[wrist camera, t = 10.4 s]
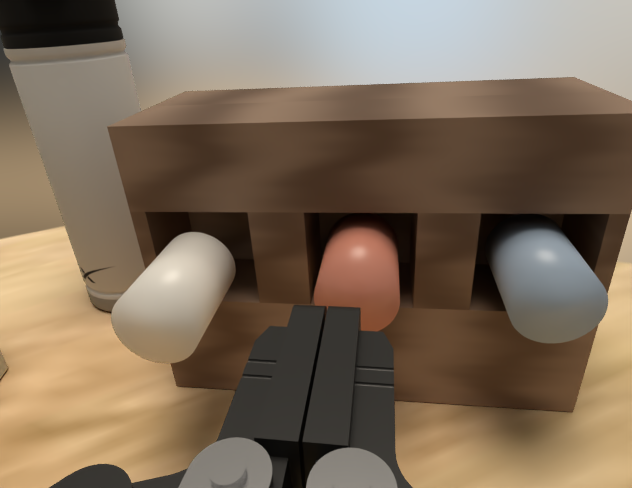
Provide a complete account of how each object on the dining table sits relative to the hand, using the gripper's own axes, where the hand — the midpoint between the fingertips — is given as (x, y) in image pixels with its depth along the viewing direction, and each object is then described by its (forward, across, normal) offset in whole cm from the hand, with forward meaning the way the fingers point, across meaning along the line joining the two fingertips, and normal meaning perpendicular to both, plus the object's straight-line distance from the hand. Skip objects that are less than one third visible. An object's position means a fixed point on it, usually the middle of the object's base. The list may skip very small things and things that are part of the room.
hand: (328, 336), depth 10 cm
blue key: (+8, -7, +5) cm, 12 cm away
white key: (+6, +7, +5) cm, 10 cm away
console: (+13, 0, +11) cm, 17 cm away
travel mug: (+18, +17, +12) cm, 27 cm away
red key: (+8, 0, +5) cm, 9 cm away
